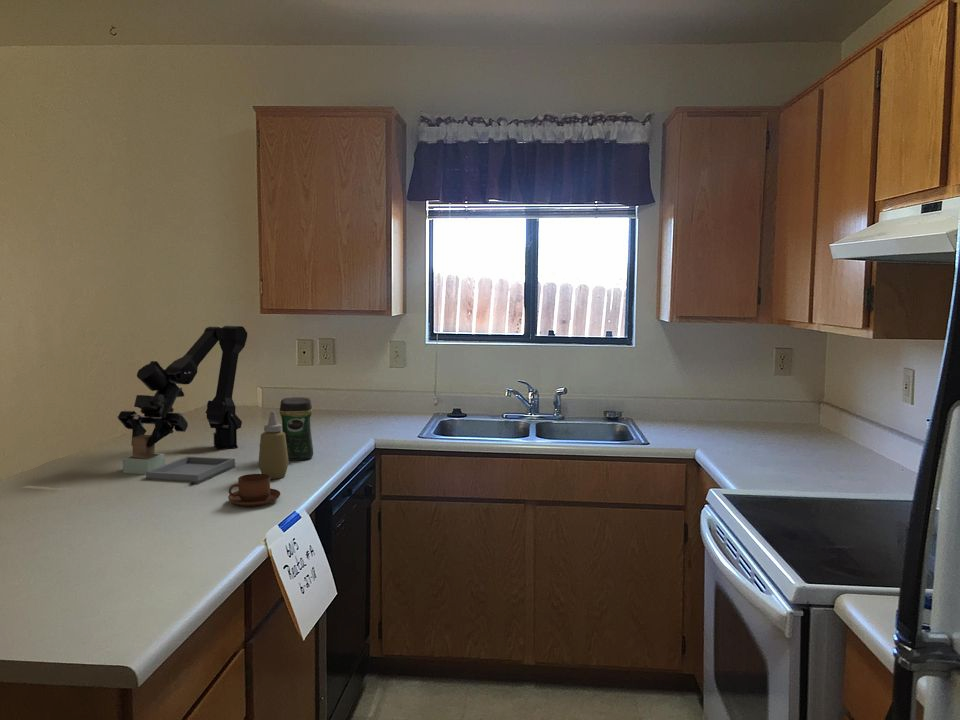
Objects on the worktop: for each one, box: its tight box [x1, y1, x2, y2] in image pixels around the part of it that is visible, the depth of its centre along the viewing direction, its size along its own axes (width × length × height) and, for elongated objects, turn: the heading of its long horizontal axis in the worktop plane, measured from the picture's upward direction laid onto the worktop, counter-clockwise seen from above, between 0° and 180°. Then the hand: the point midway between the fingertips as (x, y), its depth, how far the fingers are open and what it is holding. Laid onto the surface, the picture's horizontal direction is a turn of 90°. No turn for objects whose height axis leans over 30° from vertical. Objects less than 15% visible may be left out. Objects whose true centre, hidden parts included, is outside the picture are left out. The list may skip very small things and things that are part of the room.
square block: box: [131, 434, 156, 459], centre depth 200 cm, size 4×4×10 cm
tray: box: [145, 455, 236, 485], centre depth 199 cm, size 19×15×2 cm
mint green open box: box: [122, 452, 166, 475], centre depth 200 cm, size 8×8×4 cm
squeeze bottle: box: [257, 410, 290, 480], centre depth 196 cm, size 8×8×18 cm
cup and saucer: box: [227, 473, 281, 507], centre depth 174 cm, size 12×12×6 cm
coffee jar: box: [279, 396, 314, 461], centre depth 218 cm, size 10×8×19 cm
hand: (140, 446), depth 198 cm, fingers open, 4 cm apart
